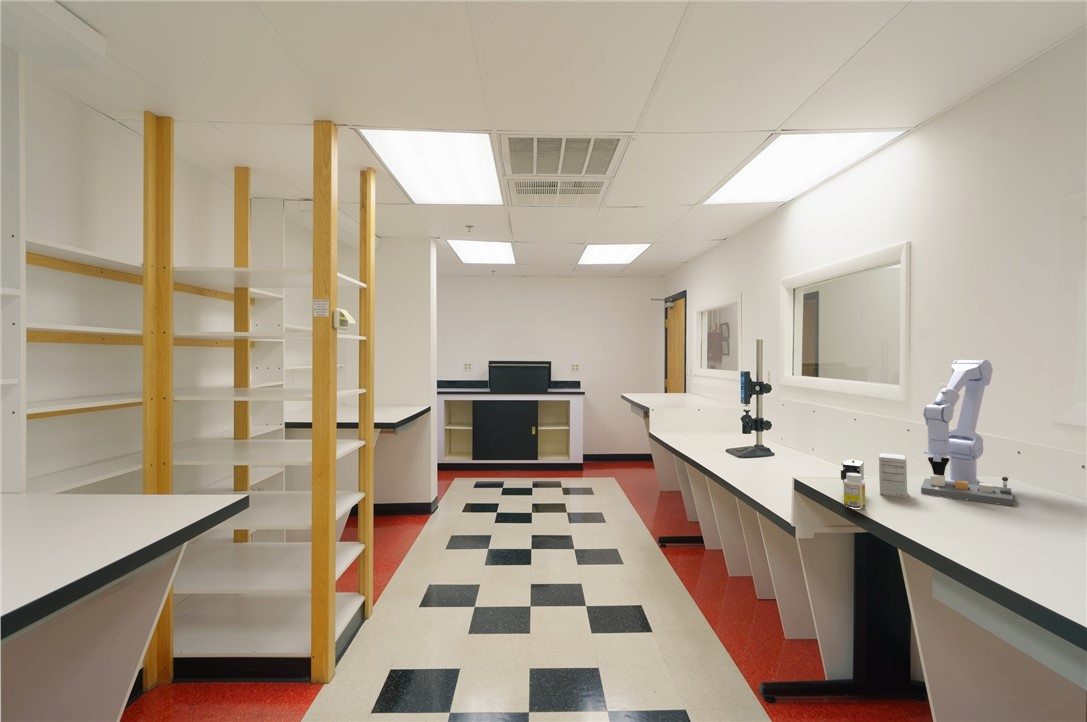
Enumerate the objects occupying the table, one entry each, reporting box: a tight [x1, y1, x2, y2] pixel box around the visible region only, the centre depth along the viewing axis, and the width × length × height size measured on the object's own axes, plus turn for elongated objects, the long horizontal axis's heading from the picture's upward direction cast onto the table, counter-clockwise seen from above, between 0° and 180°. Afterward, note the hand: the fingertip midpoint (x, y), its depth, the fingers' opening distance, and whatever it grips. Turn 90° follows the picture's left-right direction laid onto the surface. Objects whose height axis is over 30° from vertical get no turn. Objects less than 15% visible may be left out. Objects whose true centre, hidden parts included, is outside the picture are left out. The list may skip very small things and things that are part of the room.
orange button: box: [955, 480, 968, 490], centre depth 161 cm, size 3×3×2 cm
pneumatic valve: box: [840, 458, 865, 484], centre depth 163 cm, size 6×12×12 cm, turn 140°
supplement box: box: [878, 452, 908, 498], centre depth 163 cm, size 7×7×13 cm
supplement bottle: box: [843, 473, 866, 508], centre depth 150 cm, size 6×6×10 cm
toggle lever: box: [1001, 476, 1009, 488], centre depth 155 cm, size 2×2×3 cm
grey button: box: [978, 482, 994, 493], centre depth 157 cm, size 3×3×2 cm
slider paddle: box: [929, 473, 946, 486], centre depth 164 cm, size 3×4×3 cm
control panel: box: [920, 478, 1014, 506], centre depth 161 cm, size 15×22×3 cm
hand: (938, 478), depth 169 cm, fingers closed
